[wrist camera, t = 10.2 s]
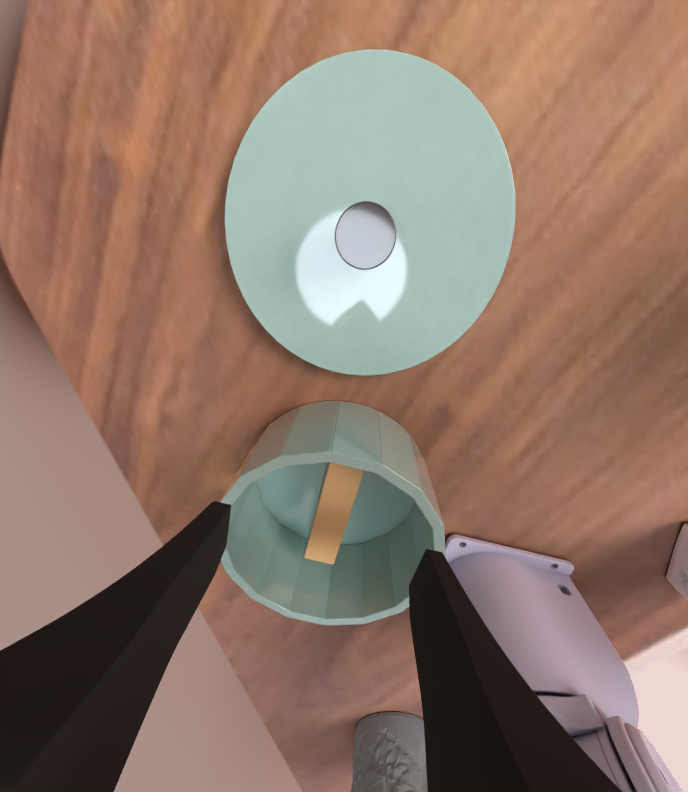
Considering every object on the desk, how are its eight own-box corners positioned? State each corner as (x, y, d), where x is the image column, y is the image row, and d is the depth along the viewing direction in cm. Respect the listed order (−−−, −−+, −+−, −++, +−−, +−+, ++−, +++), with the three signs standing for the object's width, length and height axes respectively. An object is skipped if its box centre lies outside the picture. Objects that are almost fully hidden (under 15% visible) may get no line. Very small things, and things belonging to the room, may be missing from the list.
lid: (560, 112, 14) (638, 54, 10) (446, 394, 20) (466, 429, 16) (249, 22, 14) (201, -77, 10) (221, 337, 19) (182, 358, 15)
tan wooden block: (335, 431, 21) (330, 458, 18) (366, 438, 21) (366, 466, 18) (310, 523, 24) (303, 558, 21) (337, 529, 24) (333, 565, 21)
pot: (452, 426, 20) (484, 488, 15) (394, 560, 25) (402, 643, 20) (263, 379, 20) (224, 425, 15) (241, 524, 25) (206, 599, 19)
